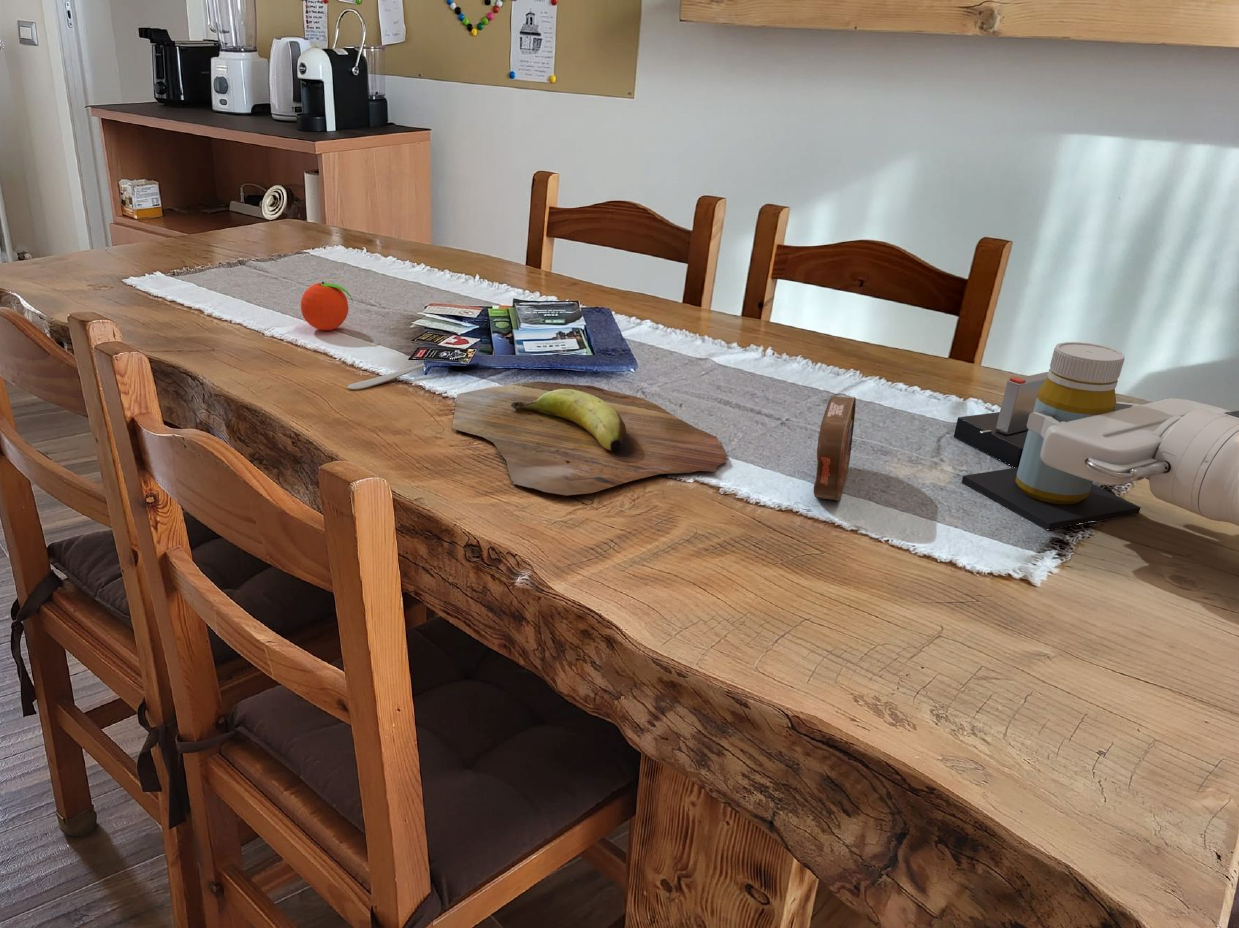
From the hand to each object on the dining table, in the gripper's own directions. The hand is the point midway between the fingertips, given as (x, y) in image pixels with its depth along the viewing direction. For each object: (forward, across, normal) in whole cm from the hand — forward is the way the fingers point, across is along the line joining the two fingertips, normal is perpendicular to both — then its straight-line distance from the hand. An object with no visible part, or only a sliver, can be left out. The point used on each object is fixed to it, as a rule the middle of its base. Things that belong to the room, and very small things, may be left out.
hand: (1063, 412), depth 104 cm
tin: (+12, -18, -9) cm, 24 cm away
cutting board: (+36, -35, -9) cm, 51 cm away
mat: (-1, 0, -9) cm, 9 cm away
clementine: (+87, -47, -9) cm, 99 cm away
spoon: (+62, -44, -9) cm, 76 cm away
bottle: (-1, 0, -8) cm, 9 cm away
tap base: (+10, +10, -9) cm, 17 cm away
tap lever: (+10, +10, -7) cm, 15 cm away
